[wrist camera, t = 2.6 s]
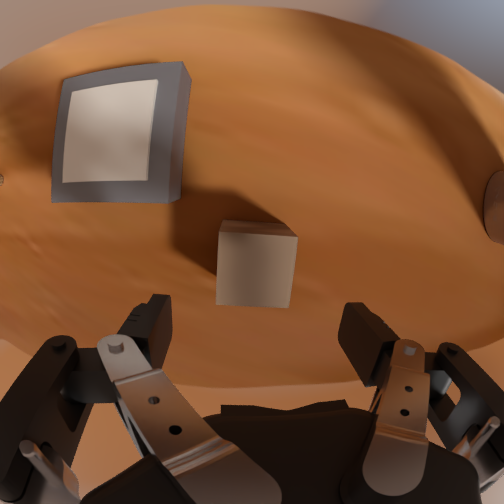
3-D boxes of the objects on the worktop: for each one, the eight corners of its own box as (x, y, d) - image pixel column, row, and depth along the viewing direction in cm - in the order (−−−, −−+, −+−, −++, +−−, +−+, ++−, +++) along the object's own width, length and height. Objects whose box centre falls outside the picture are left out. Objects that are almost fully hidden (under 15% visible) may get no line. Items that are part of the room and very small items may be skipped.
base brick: (191, 79, 18) (181, 59, 14) (180, 198, 21) (166, 204, 17) (86, 90, 17) (61, 78, 13) (76, 197, 20) (48, 203, 16)
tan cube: (284, 223, 22) (298, 237, 17) (278, 281, 23) (288, 307, 18) (223, 219, 22) (219, 231, 17) (219, 278, 23) (215, 304, 18)
